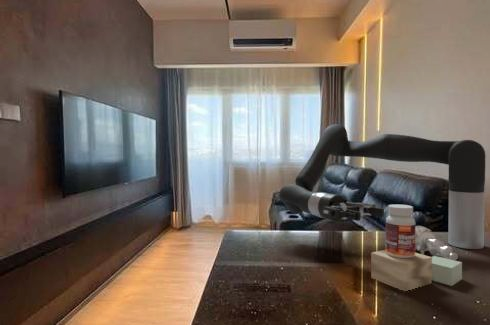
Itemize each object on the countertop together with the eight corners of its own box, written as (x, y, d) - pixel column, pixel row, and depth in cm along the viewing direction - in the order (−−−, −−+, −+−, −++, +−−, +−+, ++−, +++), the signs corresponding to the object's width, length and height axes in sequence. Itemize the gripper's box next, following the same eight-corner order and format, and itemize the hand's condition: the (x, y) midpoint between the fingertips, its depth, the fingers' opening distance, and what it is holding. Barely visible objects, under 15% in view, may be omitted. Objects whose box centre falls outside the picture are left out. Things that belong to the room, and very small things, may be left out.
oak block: (396, 270, 80) (396, 247, 80) (431, 283, 72) (431, 257, 72) (371, 277, 76) (371, 252, 76) (405, 292, 68) (406, 264, 68)
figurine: (448, 235, 84) (411, 213, 98) (427, 254, 84) (393, 230, 99) (468, 259, 86) (429, 235, 101) (448, 278, 87) (412, 251, 101)
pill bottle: (401, 260, 70) (401, 209, 70) (379, 252, 76) (380, 205, 75) (421, 256, 73) (422, 207, 72) (399, 249, 78) (399, 203, 78)
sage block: (433, 271, 79) (434, 255, 79) (461, 279, 75) (461, 262, 75) (423, 277, 76) (423, 261, 76) (451, 285, 71) (451, 268, 71)
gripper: (308, 194, 92) (351, 202, 77) (344, 191, 98) (390, 198, 84) (308, 221, 92) (351, 233, 78) (344, 215, 99) (390, 226, 84)
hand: (371, 214), depth 81 cm, fingers open, 8 cm apart
